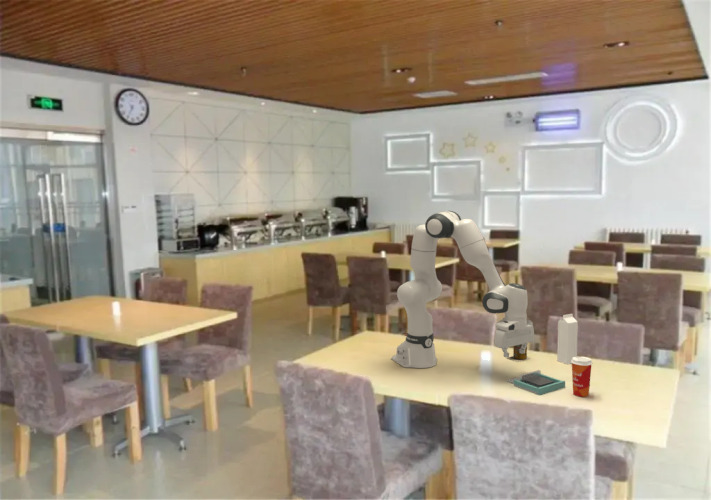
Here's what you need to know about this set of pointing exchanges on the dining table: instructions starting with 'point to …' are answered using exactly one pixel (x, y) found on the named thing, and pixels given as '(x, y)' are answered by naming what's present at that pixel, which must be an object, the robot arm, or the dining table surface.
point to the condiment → (518, 354)
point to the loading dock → (538, 390)
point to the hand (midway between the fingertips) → (514, 355)
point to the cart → (535, 379)
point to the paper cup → (581, 375)
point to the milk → (567, 339)
